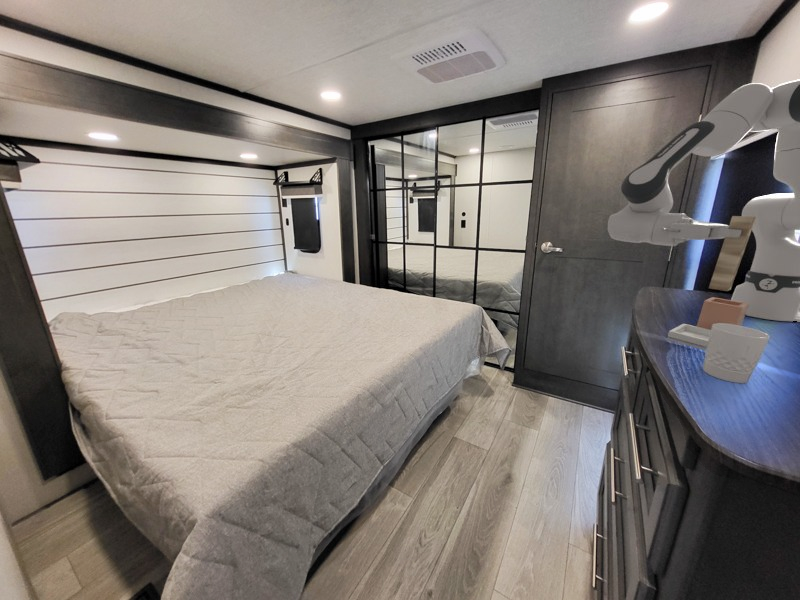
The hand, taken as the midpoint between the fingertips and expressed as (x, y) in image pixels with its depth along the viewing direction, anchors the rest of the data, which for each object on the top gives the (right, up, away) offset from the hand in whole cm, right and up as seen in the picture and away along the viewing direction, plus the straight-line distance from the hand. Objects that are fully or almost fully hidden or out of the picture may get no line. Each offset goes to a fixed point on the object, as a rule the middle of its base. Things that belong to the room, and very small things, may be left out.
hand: (743, 233), depth 74 cm
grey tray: (-5, -27, +6) cm, 28 cm away
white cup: (-16, -32, -10) cm, 37 cm away
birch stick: (-1, -13, +5) cm, 14 cm away
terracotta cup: (+7, -25, +13) cm, 29 cm away
